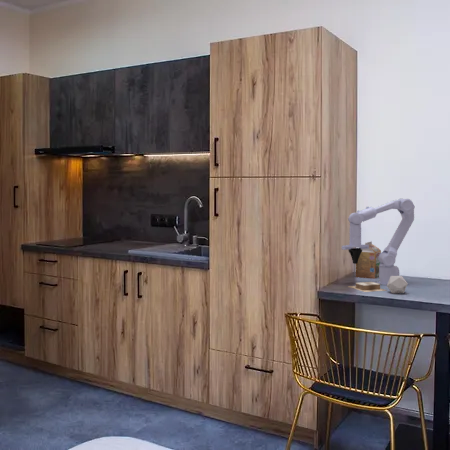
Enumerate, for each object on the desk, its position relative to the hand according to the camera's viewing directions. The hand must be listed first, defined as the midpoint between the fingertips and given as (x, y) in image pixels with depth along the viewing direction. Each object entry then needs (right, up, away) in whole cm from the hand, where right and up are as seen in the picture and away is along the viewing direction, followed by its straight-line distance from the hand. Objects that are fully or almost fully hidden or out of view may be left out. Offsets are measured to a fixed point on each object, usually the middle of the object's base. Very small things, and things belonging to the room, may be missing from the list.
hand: (355, 263), depth 273 cm
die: (+13, -12, -24) cm, 30 cm away
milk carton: (+13, -9, +24) cm, 28 cm away
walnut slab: (+2, -10, -11) cm, 15 cm away
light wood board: (+2, -11, -13) cm, 18 cm away
